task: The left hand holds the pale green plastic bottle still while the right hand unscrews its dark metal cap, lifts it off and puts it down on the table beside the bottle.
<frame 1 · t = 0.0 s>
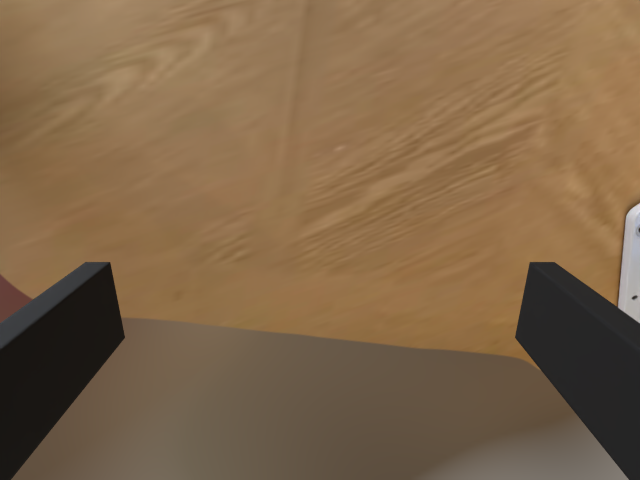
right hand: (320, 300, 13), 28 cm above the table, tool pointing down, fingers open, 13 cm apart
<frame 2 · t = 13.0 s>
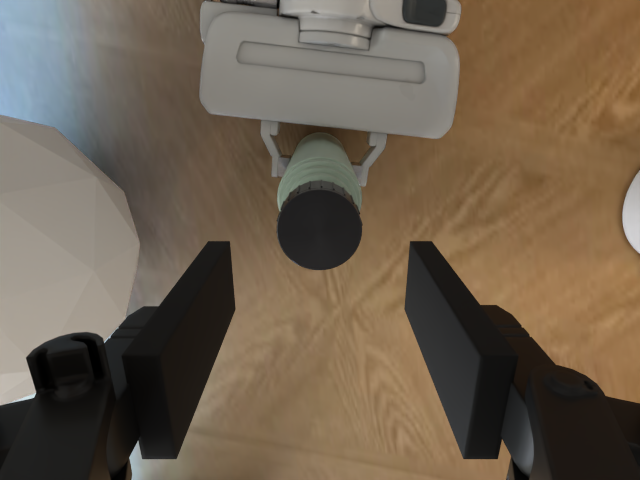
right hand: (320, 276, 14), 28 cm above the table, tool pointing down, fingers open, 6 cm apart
left hand: (319, 180, 35), fingers closed on bottle, 5 cm apart
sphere: (68, 236, 43), on the table
bottle: (319, 159, 41), on the table, touching left hand
cap: (319, 229, 19), point 23 cm above the table, screwed on, not yet turned
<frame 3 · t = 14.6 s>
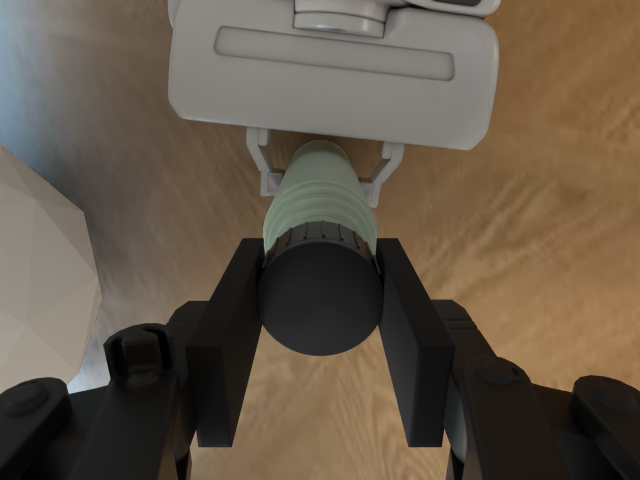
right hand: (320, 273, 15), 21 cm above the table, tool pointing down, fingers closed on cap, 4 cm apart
left hand: (319, 200, 28), fingers closed on bottle, 5 cm apart
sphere: (24, 261, 37), on the table
bottle: (320, 171, 34), on the table, touching left hand
cap: (320, 297, 13), point 23 cm above the table, screwed on, not yet turned, touching right hand
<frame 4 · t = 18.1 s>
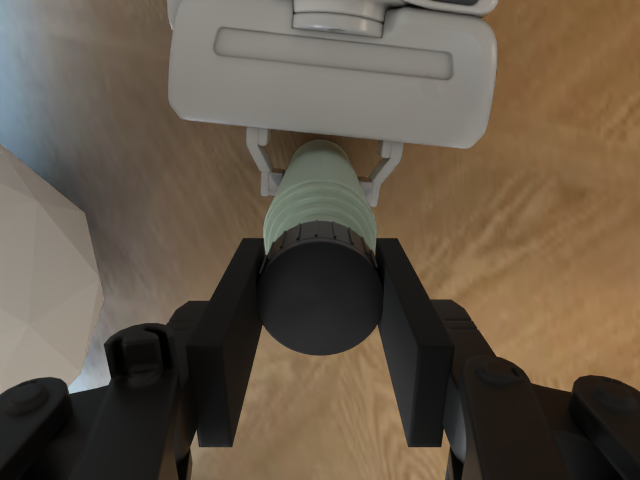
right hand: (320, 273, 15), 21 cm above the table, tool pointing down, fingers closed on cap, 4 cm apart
left hand: (319, 199, 28), fingers closed on bottle, 5 cm apart
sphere: (26, 262, 37), on the table
bottle: (320, 170, 34), on the table, touching left hand
cap: (320, 297, 13), point 23 cm above the table, turned 104° so far, risen 0.1 cm, still on its thread, touching right hand
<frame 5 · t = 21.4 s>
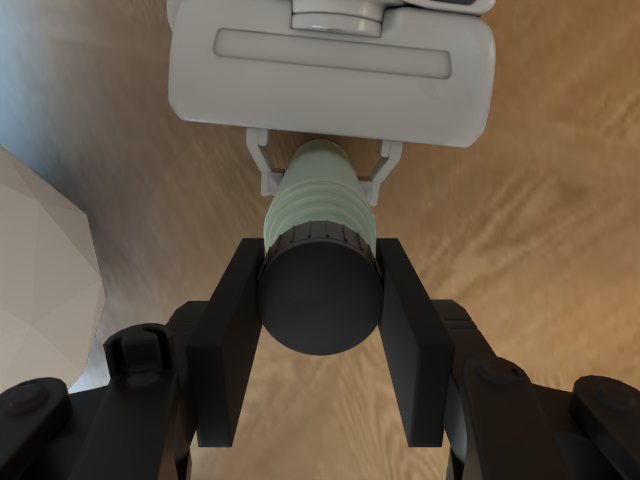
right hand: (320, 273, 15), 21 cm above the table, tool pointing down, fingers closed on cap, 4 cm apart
left hand: (319, 199, 29), fingers closed on bottle, 5 cm apart
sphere: (28, 264, 37), on the table
bottle: (320, 170, 34), on the table, touching left hand
cap: (320, 297, 13), point 23 cm above the table, turned 208° so far, risen 0.2 cm, still on its thread, touching right hand
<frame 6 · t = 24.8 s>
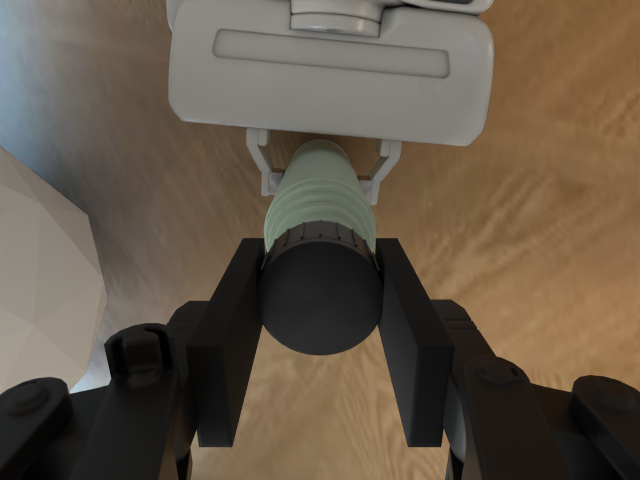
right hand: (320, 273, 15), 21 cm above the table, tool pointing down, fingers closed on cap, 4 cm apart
left hand: (319, 198, 29), fingers closed on bottle, 5 cm apart
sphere: (30, 265, 38), on the table
bottle: (319, 170, 34), on the table, touching left hand
cap: (320, 297, 13), point 23 cm above the table, turned 312° so far, risen 0.4 cm, still on its thread, touching right hand
when the right hand's fingers open (1 cm above the table, at t = 35.9 s): cap drops 2 cm, point 2 cm above the table.
when the left hand's fingers open (7 cm above the table, at t = 37.3 s): bottle stays where it is, on the table.
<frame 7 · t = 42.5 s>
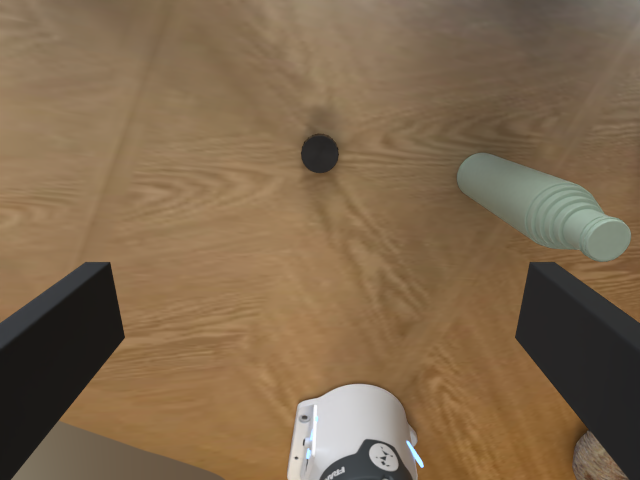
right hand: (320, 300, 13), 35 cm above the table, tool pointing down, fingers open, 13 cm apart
seashell: (601, 442, 61), on the table
bottle: (479, 175, 47), on the table
cap: (319, 154, 44), point 2 cm above the table, off its thread
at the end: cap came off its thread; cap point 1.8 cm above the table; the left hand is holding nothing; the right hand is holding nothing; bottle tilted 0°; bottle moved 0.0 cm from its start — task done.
